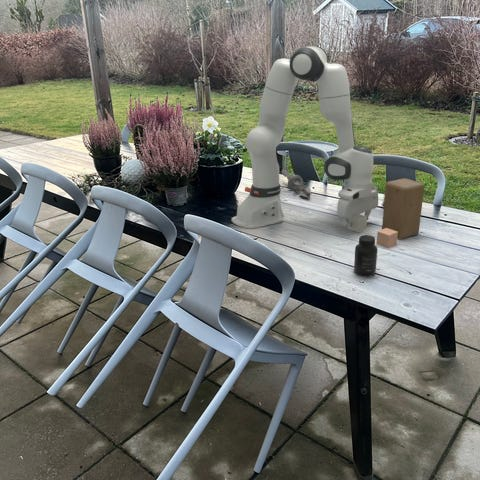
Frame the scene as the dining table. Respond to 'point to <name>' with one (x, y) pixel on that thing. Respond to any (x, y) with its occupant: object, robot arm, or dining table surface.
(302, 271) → the dining table surface
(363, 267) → the supplement bottle
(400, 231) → the wooden block
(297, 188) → the spaceship
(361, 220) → the cream cube
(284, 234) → the dining table surface
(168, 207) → the dining table surface
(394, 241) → the peach cube
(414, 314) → the dining table surface
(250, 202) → the robot arm
